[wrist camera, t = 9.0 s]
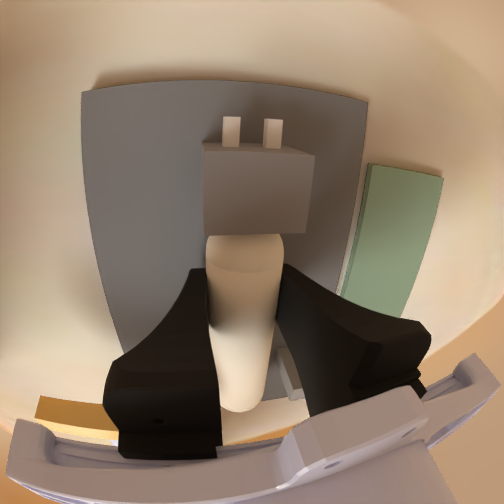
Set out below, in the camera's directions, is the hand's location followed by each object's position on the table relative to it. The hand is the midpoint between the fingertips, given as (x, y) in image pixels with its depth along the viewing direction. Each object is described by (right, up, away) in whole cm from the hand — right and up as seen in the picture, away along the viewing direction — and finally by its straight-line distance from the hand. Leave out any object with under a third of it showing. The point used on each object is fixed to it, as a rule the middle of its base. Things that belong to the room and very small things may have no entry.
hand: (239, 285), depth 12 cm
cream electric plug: (0, 0, +1) cm, 1 cm away
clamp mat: (-1, -1, +2) cm, 2 cm away
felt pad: (+9, -1, +5) cm, 10 cm away
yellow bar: (-7, -7, -1) cm, 10 cm away
